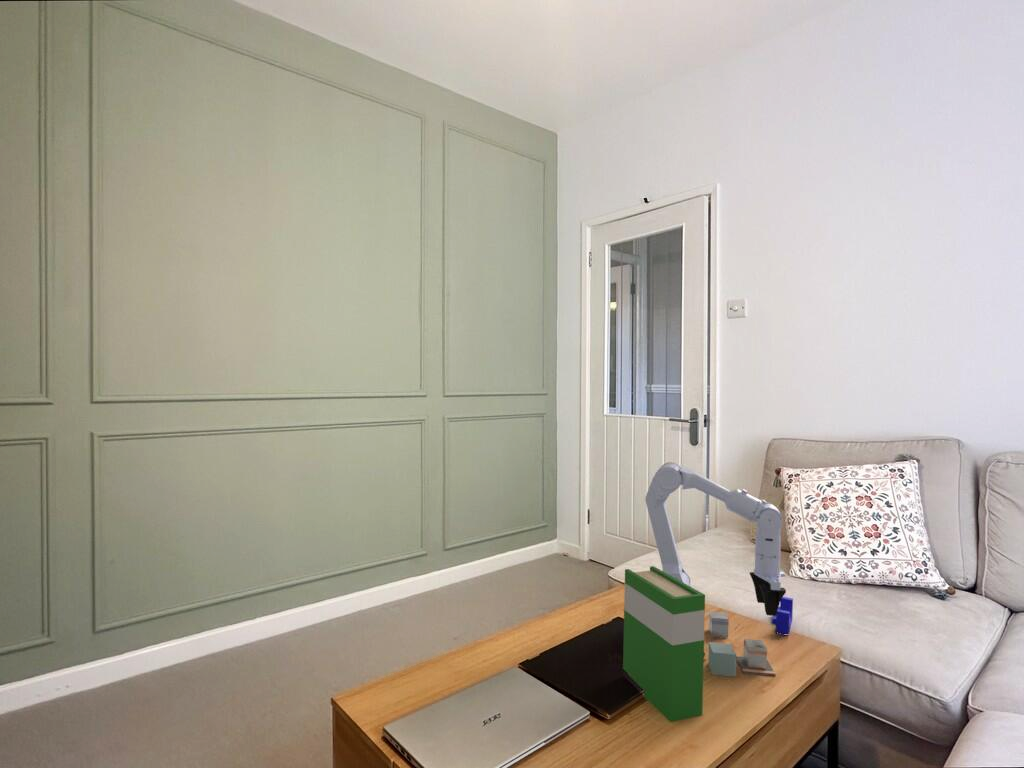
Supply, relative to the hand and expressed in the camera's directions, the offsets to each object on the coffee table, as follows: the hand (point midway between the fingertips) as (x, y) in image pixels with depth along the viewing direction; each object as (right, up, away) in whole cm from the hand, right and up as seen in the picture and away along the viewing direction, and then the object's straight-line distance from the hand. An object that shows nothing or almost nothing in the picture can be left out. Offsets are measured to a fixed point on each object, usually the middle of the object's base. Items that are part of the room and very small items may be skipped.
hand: (766, 608), depth 141 cm
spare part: (-7, -10, -9) cm, 15 cm away
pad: (-7, -10, -9) cm, 15 cm away
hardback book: (-32, -10, -21) cm, 40 cm away
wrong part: (-9, -10, +8) cm, 15 cm away
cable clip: (+10, -10, +14) cm, 20 cm away
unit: (-15, -10, -11) cm, 21 cm away
